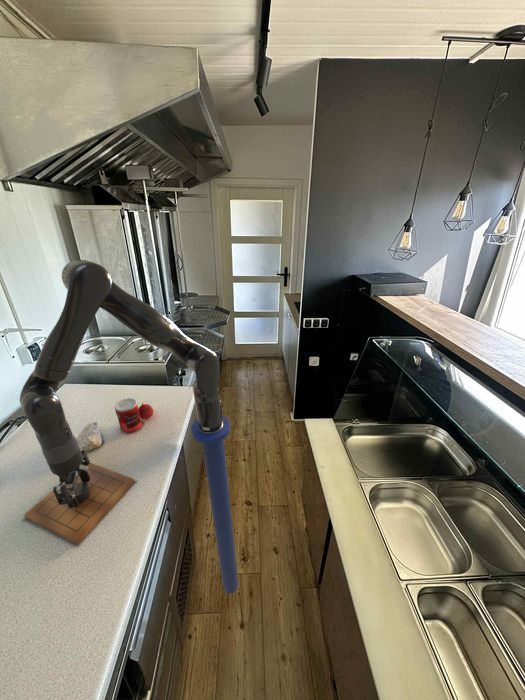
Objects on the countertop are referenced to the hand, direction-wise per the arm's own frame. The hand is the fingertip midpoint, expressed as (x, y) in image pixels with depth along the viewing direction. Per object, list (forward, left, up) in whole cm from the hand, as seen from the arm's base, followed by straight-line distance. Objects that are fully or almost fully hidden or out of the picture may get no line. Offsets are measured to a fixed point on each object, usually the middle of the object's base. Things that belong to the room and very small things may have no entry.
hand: (80, 493), depth 83 cm
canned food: (-30, -10, -3) cm, 32 cm away
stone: (-18, -18, -3) cm, 26 cm away
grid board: (0, 0, -3) cm, 3 cm away
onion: (-36, -7, -3) cm, 36 cm away
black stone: (0, 0, -1) cm, 1 cm away
